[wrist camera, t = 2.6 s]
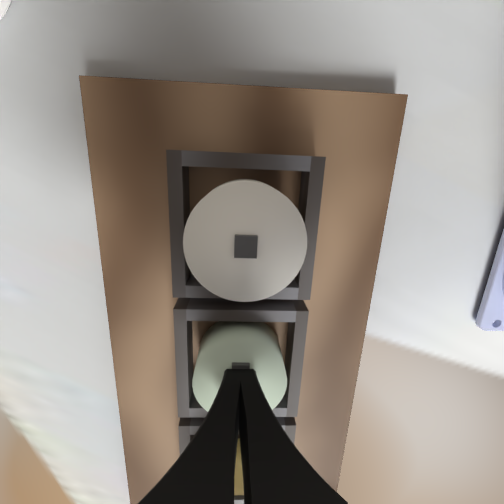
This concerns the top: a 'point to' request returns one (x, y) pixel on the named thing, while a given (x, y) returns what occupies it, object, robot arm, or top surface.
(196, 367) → the button two
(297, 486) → the robot arm
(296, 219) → the button one
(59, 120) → the top surface
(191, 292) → the button board
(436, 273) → the top surface
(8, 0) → the chess piece
